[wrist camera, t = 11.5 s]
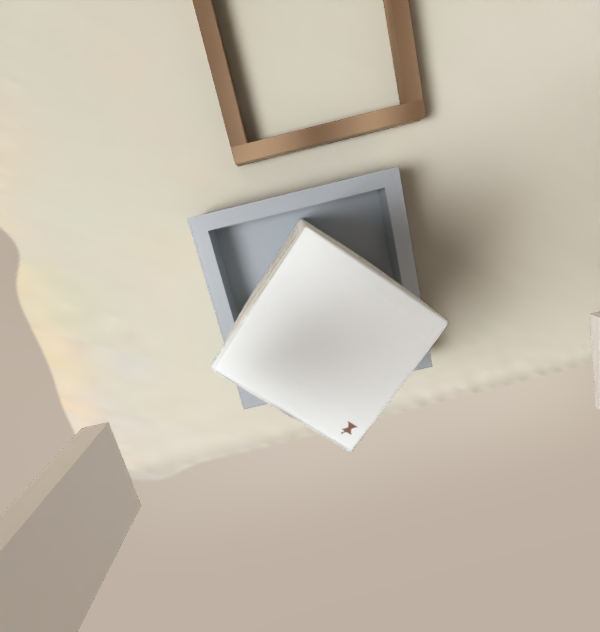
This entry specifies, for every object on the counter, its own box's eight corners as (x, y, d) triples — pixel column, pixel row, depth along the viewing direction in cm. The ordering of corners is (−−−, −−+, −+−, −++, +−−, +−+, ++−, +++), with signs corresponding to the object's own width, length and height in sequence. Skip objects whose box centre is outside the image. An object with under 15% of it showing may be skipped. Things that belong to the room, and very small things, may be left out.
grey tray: (387, 170, 28) (398, 166, 26) (419, 351, 32) (432, 366, 29) (197, 217, 29) (187, 218, 26) (248, 390, 32) (243, 409, 29)
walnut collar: (384, -100, 25) (390, -119, 23) (418, 120, 28) (425, 116, 26) (183, -45, 25) (176, -60, 24) (238, 166, 28) (235, 164, 27)
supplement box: (389, 275, 30) (458, 325, 17) (327, 360, 31) (351, 461, 19) (300, 213, 28) (307, 219, 16) (240, 304, 30) (205, 373, 18)
